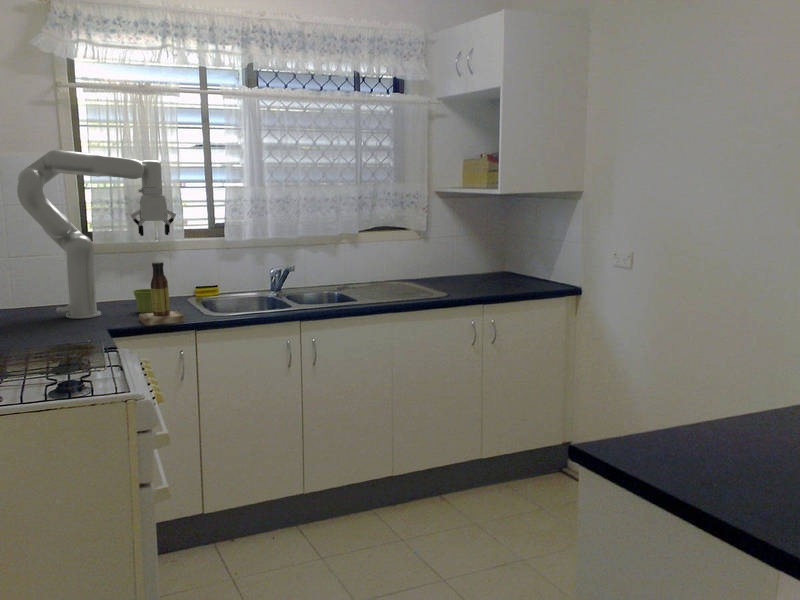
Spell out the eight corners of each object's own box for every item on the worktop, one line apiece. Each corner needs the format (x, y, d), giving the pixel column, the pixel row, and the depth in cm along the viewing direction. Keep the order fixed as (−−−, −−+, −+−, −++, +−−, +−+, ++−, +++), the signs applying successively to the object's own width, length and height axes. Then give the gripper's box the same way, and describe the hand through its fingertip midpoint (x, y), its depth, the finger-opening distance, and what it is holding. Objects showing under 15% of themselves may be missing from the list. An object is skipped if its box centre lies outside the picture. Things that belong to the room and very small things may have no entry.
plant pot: (147, 308, 305) (146, 287, 303) (163, 311, 300) (162, 289, 298) (128, 312, 297) (127, 290, 295) (145, 314, 292) (143, 293, 290)
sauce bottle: (164, 312, 284) (161, 260, 280) (173, 314, 280) (171, 261, 276) (148, 314, 279) (146, 262, 275) (158, 317, 275) (155, 263, 271)
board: (145, 325, 271) (145, 318, 271) (139, 320, 281) (139, 313, 280) (184, 322, 278) (184, 315, 278) (177, 317, 288) (176, 310, 287)
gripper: (131, 192, 287) (133, 236, 290) (176, 192, 296) (178, 235, 298) (127, 191, 293) (130, 235, 296) (172, 191, 302) (174, 233, 305)
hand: (154, 235), depth 297 cm, fingers open, 9 cm apart
